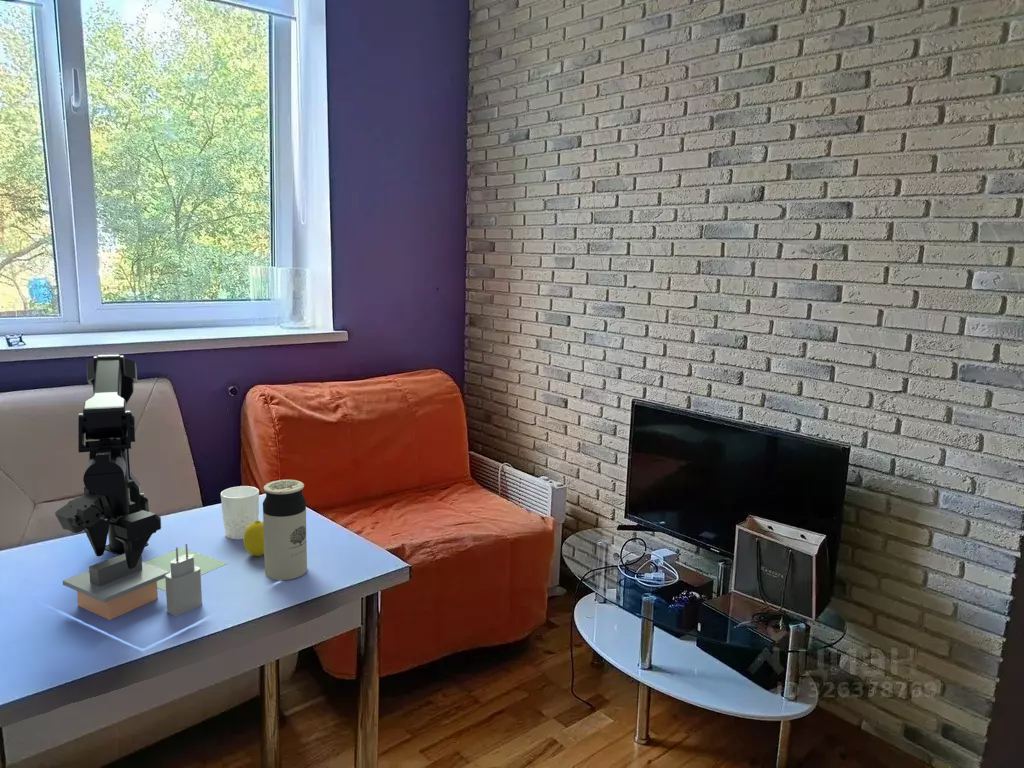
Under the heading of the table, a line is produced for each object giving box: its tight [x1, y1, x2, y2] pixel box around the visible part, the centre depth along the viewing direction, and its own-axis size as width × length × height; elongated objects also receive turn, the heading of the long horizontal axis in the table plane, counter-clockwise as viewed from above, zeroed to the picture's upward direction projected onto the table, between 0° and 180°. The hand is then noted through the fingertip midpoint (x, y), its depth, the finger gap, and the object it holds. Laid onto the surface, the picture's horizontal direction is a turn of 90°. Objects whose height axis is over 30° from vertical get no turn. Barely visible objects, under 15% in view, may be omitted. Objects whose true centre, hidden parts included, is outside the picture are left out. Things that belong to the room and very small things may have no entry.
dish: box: [76, 581, 159, 621], centre depth 128 cm, size 9×9×4 cm
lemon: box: [243, 519, 264, 558], centre depth 148 cm, size 6×6×8 cm
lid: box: [62, 554, 169, 603], centre depth 127 cm, size 12×12×4 cm
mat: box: [144, 547, 229, 592], centre depth 142 cm, size 14×14×1 cm
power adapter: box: [165, 543, 203, 617], centre depth 126 cm, size 3×5×12 cm, turn 149°
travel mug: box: [262, 479, 308, 581], centre depth 141 cm, size 8×8×18 cm
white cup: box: [220, 485, 260, 540], centre depth 159 cm, size 8×8×10 cm
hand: (115, 561), depth 127 cm, fingers open, 9 cm apart
